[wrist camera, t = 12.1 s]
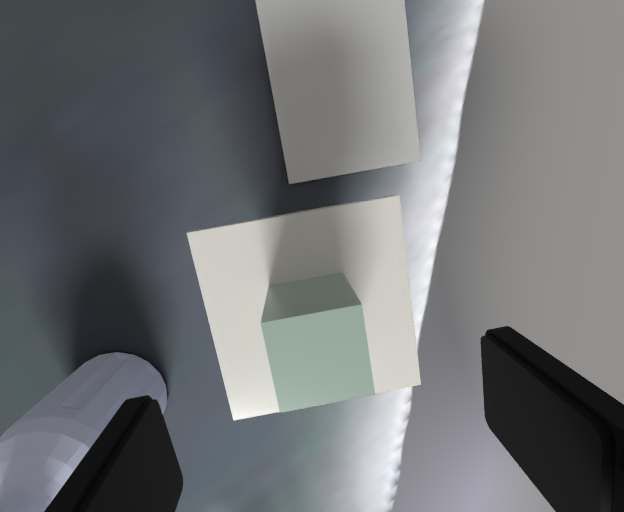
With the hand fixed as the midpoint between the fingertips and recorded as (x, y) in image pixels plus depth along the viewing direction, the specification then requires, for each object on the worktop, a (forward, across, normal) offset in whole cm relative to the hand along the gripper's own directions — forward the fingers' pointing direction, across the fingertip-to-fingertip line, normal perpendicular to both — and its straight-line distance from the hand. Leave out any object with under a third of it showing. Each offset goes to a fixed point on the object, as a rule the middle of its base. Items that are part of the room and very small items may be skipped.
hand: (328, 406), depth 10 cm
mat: (+23, -6, -14) cm, 28 cm away
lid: (+10, 0, +1) cm, 10 cm away
